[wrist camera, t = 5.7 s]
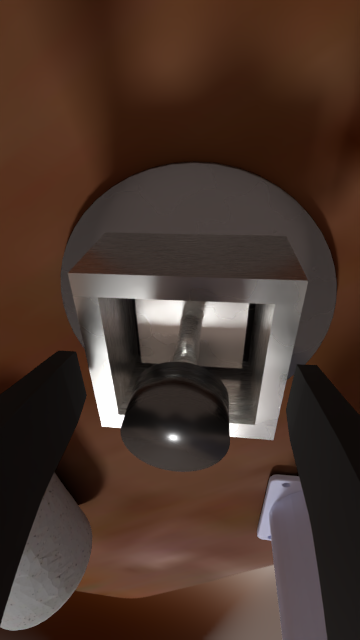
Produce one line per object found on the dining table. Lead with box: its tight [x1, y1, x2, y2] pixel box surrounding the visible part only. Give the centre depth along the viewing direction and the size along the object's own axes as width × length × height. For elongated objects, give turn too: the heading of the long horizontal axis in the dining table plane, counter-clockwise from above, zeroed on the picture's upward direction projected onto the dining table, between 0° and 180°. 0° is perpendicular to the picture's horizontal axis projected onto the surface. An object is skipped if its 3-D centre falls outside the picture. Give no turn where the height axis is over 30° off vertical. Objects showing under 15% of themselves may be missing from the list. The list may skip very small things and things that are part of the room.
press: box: [61, 161, 337, 440], centre depth 13 cm, size 12×12×4 cm
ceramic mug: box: [0, 472, 92, 630], centre depth 22 cm, size 11×8×8 cm
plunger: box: [121, 299, 249, 472], centre depth 12 cm, size 5×5×6 cm
